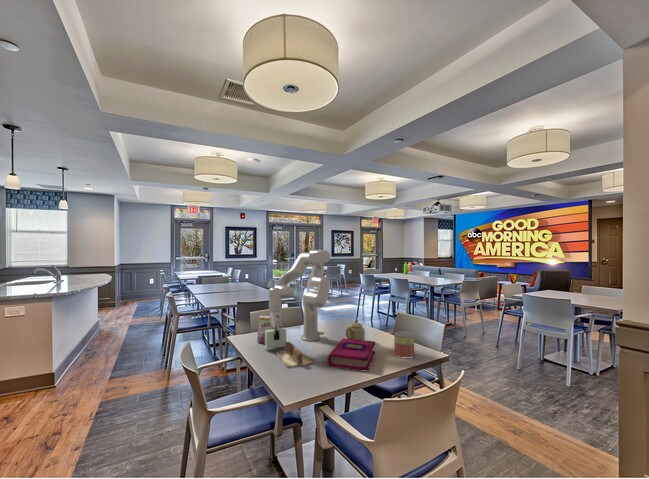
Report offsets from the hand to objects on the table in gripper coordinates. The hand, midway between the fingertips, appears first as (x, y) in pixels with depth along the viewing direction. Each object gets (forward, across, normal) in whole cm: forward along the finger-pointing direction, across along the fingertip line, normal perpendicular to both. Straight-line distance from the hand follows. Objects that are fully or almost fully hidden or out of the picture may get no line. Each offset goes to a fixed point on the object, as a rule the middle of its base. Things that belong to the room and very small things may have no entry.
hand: (275, 338), depth 181 cm
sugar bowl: (+8, -7, -51) cm, 52 cm away
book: (+8, -32, -35) cm, 48 cm away
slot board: (+6, -18, -5) cm, 20 cm away
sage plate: (+5, 0, 0) cm, 5 cm away
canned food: (+8, -37, -66) cm, 76 cm away
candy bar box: (+7, +15, +2) cm, 16 cm away
